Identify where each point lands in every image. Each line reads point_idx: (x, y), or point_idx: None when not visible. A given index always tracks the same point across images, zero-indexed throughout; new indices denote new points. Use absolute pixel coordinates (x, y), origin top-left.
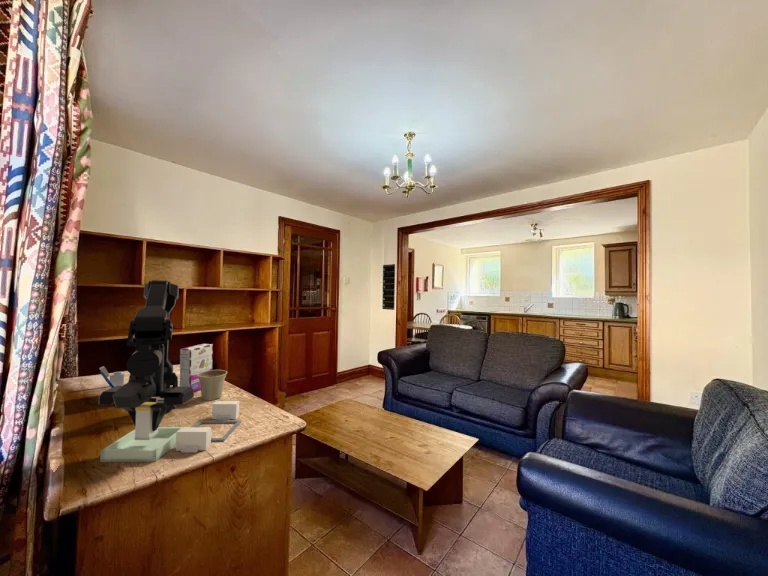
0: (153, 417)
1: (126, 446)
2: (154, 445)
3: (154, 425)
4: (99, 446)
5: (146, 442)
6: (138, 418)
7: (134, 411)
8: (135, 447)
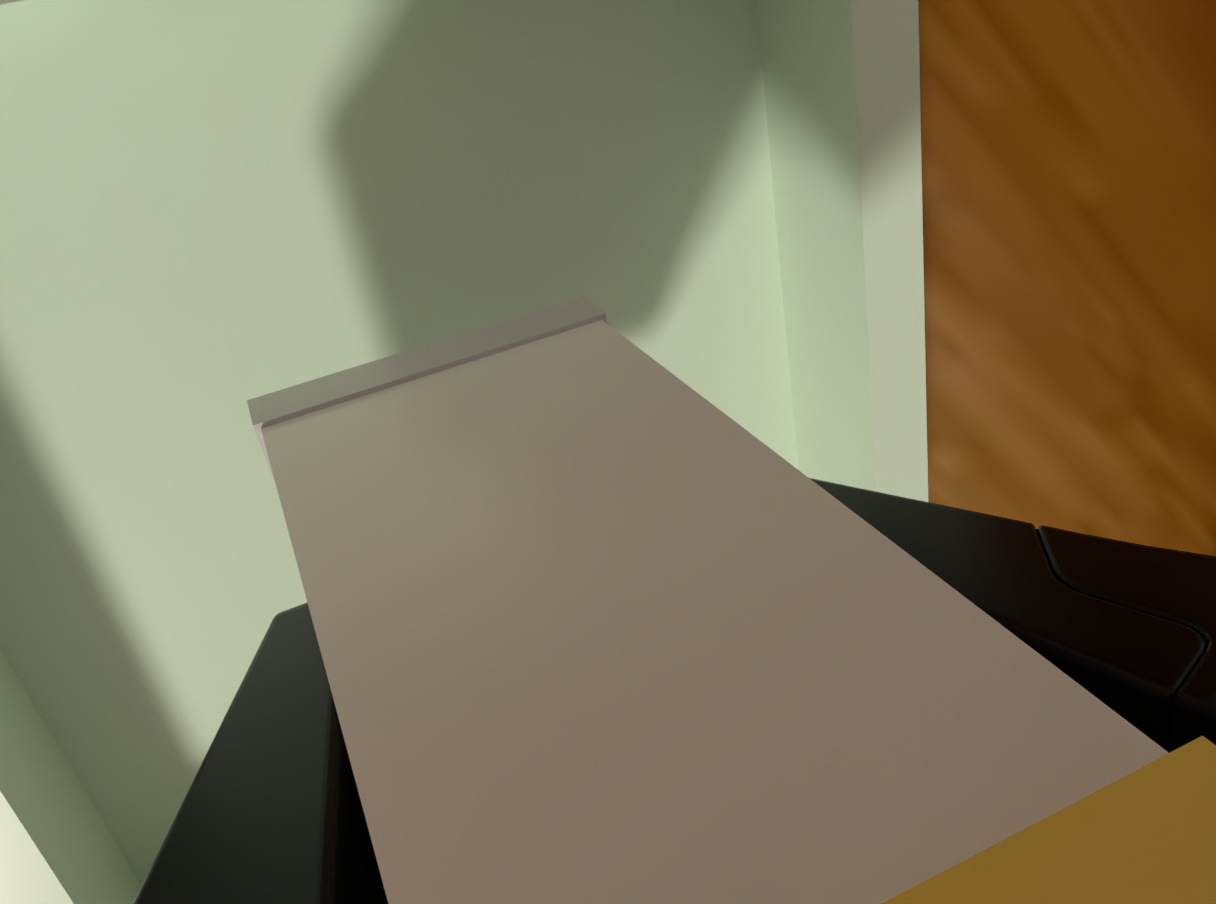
0: (287, 896)
1: (731, 287)
2: (262, 469)
3: (262, 704)
4: (1115, 225)
5: None
6: (810, 589)
7: (1202, 710)
8: (548, 300)
